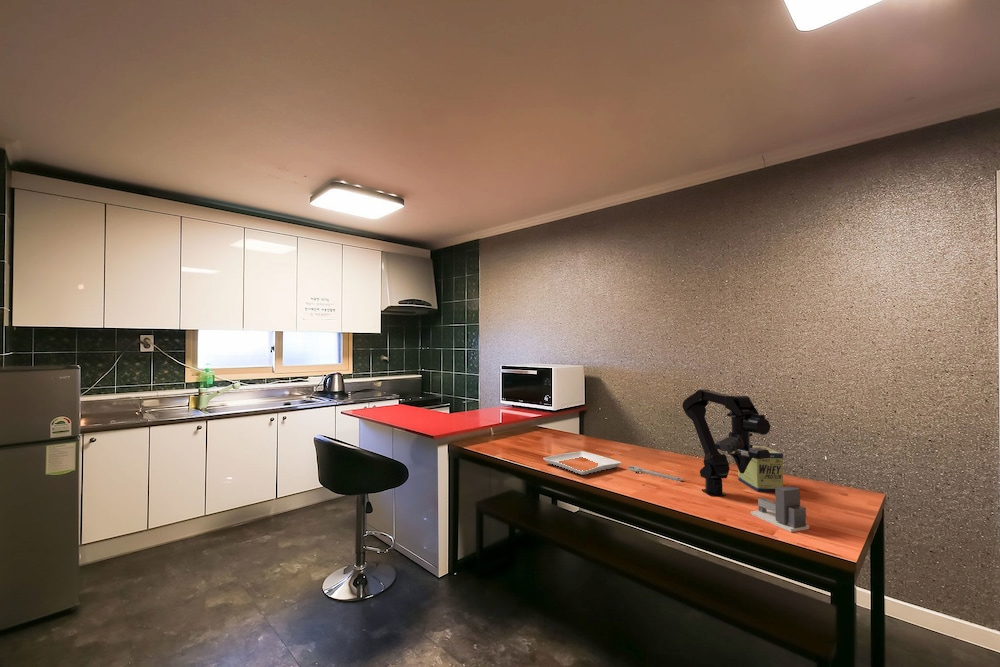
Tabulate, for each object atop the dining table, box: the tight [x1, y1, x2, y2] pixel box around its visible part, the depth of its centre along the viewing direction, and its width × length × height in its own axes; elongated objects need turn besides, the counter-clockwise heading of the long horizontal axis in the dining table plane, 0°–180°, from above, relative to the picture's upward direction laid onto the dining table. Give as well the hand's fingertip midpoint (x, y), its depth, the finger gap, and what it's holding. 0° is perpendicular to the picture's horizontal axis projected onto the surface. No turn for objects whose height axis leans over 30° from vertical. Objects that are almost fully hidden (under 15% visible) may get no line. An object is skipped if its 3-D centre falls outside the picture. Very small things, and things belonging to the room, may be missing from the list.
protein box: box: [737, 444, 784, 493], centre depth 176 cm, size 10×16×16 cm
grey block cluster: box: [757, 497, 807, 528], centre depth 140 cm, size 14×5×6 cm, turn 17°
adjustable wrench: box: [627, 465, 684, 482], centre depth 189 cm, size 25×6×2 cm, turn 42°
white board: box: [750, 509, 810, 533], centre depth 140 cm, size 14×8×1 cm, turn 17°
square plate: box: [542, 450, 622, 475], centre depth 202 cm, size 27×27×4 cm
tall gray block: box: [774, 485, 801, 524], centre depth 137 cm, size 3×7×11 cm, turn 107°
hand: (741, 473), depth 153 cm, fingers closed
